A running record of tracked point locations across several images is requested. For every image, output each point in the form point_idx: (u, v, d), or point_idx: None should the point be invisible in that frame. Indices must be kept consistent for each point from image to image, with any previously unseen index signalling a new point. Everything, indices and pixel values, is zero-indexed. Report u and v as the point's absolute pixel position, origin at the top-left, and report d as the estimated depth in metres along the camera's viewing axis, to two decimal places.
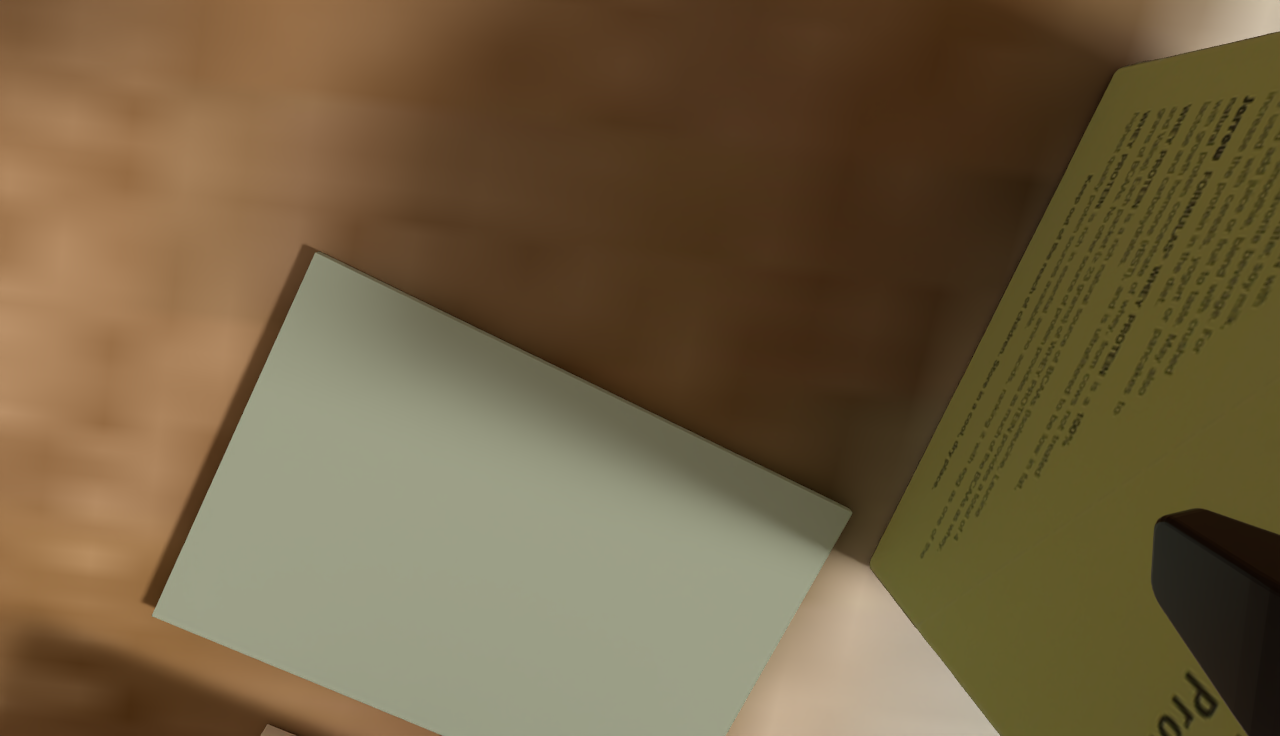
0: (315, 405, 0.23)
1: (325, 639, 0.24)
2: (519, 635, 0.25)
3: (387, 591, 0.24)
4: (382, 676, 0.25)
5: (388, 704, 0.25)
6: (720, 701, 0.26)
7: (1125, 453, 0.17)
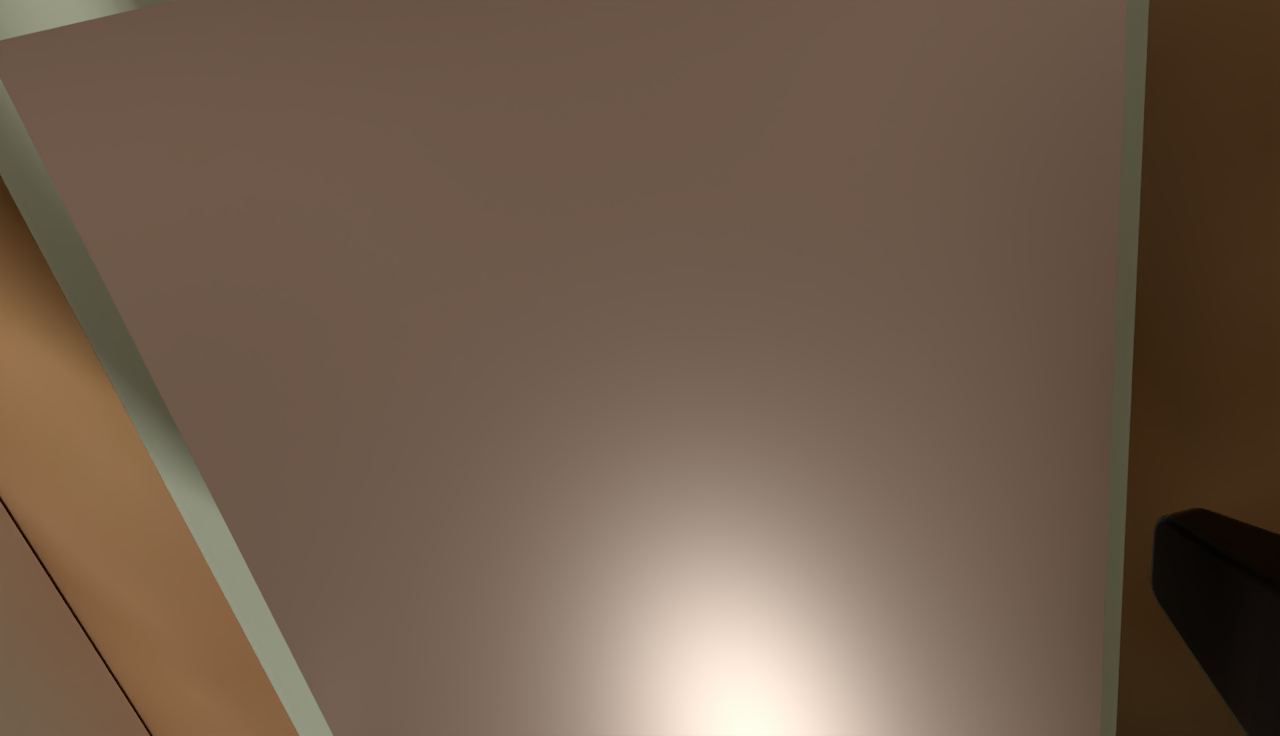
0: None
1: None
2: None
3: None
4: None
5: (228, 557, 0.10)
6: None
7: None
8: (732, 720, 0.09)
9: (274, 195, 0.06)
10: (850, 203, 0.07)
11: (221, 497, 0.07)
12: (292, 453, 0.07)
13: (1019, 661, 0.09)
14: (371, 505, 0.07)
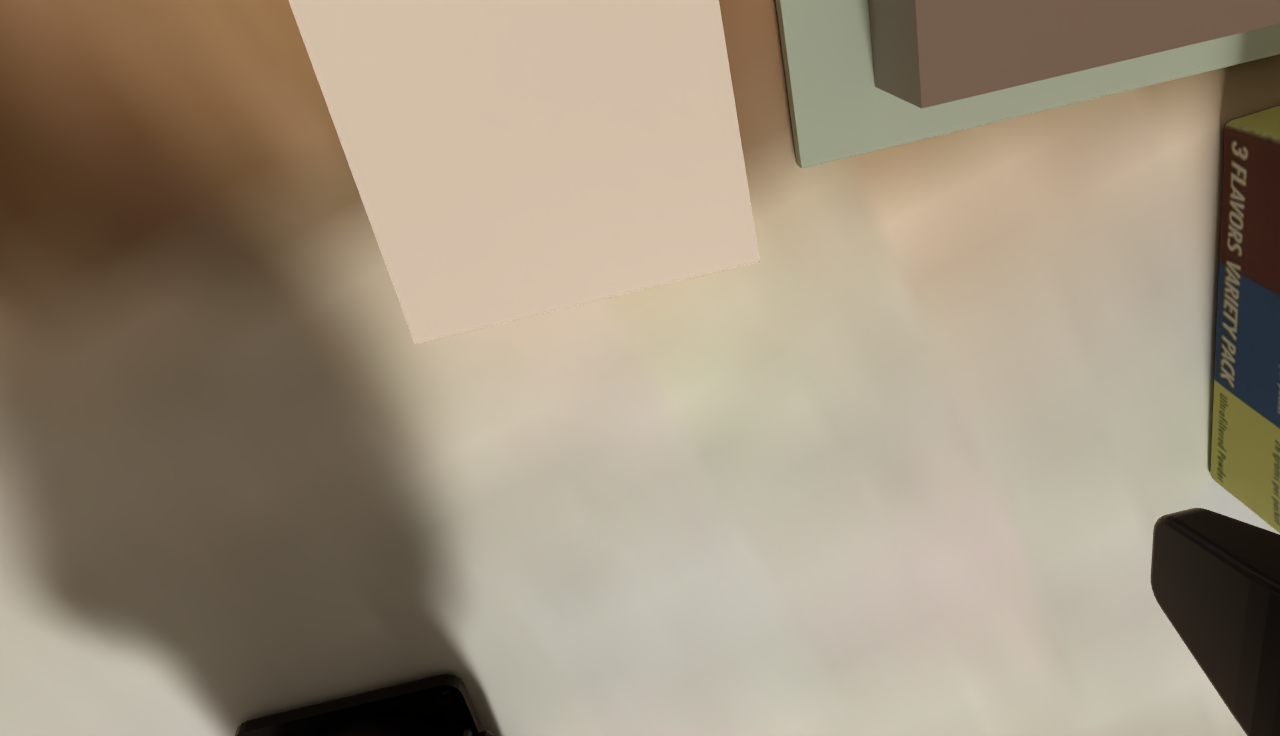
0: None
1: None
2: None
3: None
4: None
5: None
6: (995, 91, 0.19)
7: None
8: None
9: None
10: None
11: None
12: None
13: None
14: None
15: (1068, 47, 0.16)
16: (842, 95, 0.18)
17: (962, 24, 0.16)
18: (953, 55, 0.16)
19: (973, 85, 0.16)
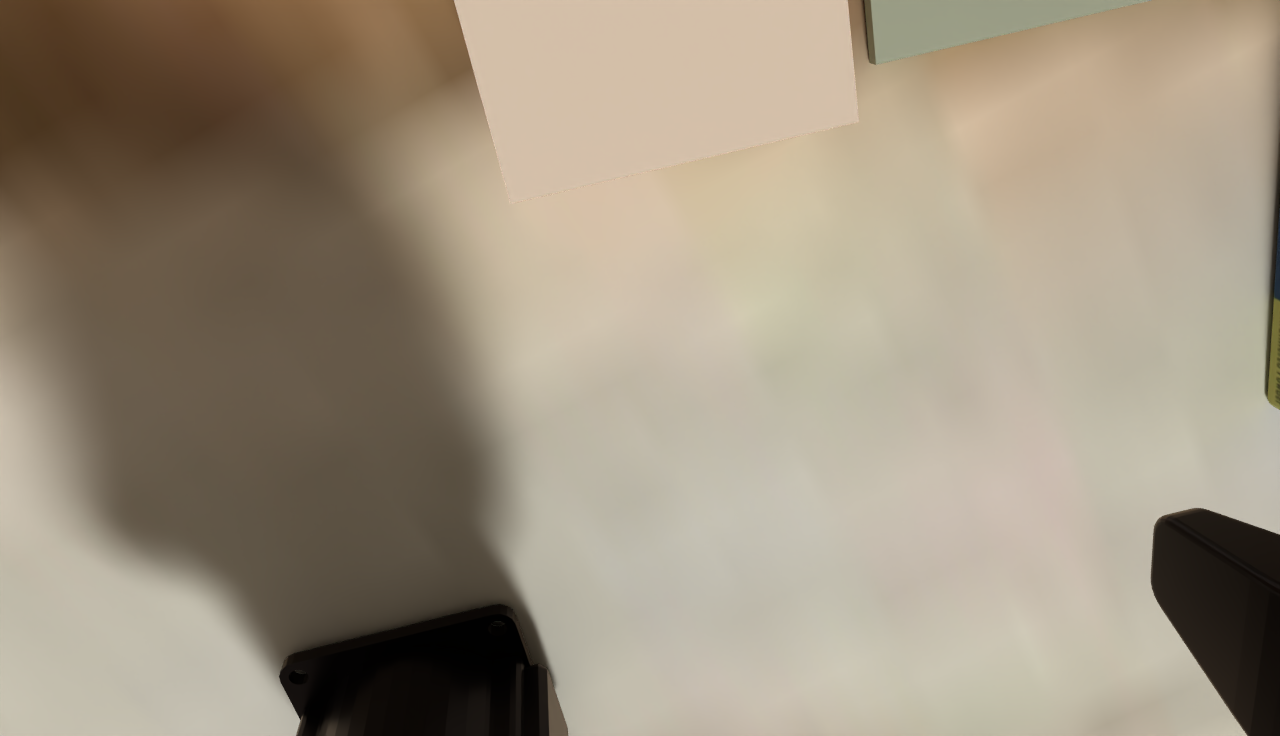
0: None
1: None
2: None
3: None
4: None
5: None
6: None
7: None
8: None
9: None
10: None
11: None
12: None
13: None
14: None
15: None
16: None
17: None
18: None
19: None
